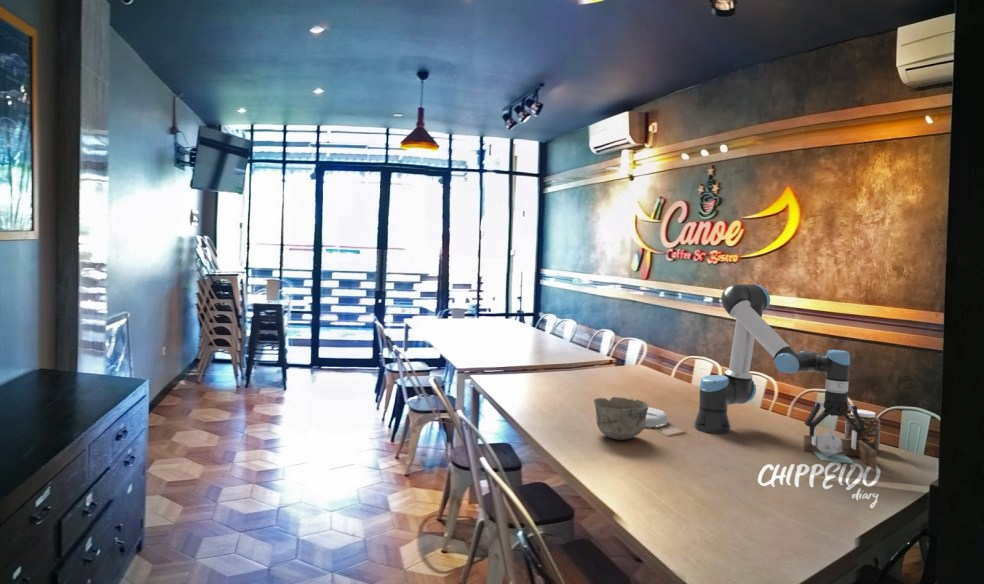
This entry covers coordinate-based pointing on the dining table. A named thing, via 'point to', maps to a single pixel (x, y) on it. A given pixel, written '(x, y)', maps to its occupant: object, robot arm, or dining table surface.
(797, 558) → the dining table surface
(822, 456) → the mat
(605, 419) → the bowl
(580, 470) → the dining table surface
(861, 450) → the arena
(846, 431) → the jar
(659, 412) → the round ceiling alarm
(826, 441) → the die
